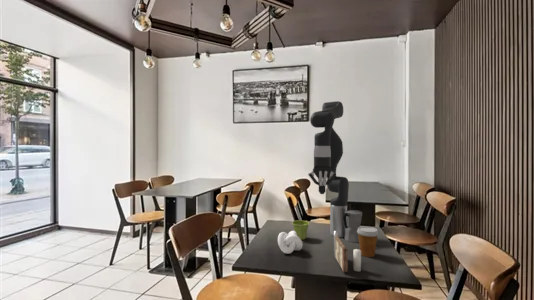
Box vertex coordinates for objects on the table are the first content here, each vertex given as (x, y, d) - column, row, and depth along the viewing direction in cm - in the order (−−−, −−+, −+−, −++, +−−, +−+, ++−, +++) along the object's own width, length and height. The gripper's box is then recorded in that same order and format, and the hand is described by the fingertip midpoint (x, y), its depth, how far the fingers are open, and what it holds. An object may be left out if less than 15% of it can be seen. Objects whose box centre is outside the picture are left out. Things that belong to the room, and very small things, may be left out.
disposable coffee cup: (364, 259, 130) (364, 232, 130) (352, 251, 139) (353, 227, 139) (382, 257, 133) (383, 231, 132) (370, 250, 142) (370, 225, 142)
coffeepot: (352, 235, 165) (353, 203, 164) (367, 239, 157) (368, 206, 157) (335, 241, 155) (336, 207, 155) (351, 245, 148) (351, 210, 147)
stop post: (351, 268, 121) (352, 249, 120) (358, 267, 121) (358, 248, 121) (355, 271, 118) (355, 252, 118) (362, 271, 118) (362, 251, 118)
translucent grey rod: (333, 256, 133) (333, 230, 133) (336, 256, 134) (336, 230, 133) (334, 258, 132) (335, 231, 131) (338, 257, 132) (338, 231, 132)
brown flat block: (334, 256, 131) (334, 235, 131) (338, 256, 131) (338, 235, 131) (343, 272, 116) (343, 248, 115) (347, 272, 116) (347, 248, 115)
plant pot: (310, 241, 155) (310, 225, 154) (292, 241, 155) (292, 224, 155) (308, 235, 164) (308, 220, 164) (291, 235, 164) (291, 220, 164)
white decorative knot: (286, 257, 132) (286, 238, 132) (271, 249, 142) (271, 231, 142) (305, 252, 138) (305, 234, 138) (290, 245, 148) (290, 227, 148)
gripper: (309, 156, 128) (309, 195, 129) (338, 156, 129) (338, 195, 129) (306, 155, 136) (306, 192, 136) (334, 155, 136) (334, 192, 137)
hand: (322, 193), depth 133 cm, fingers closed
